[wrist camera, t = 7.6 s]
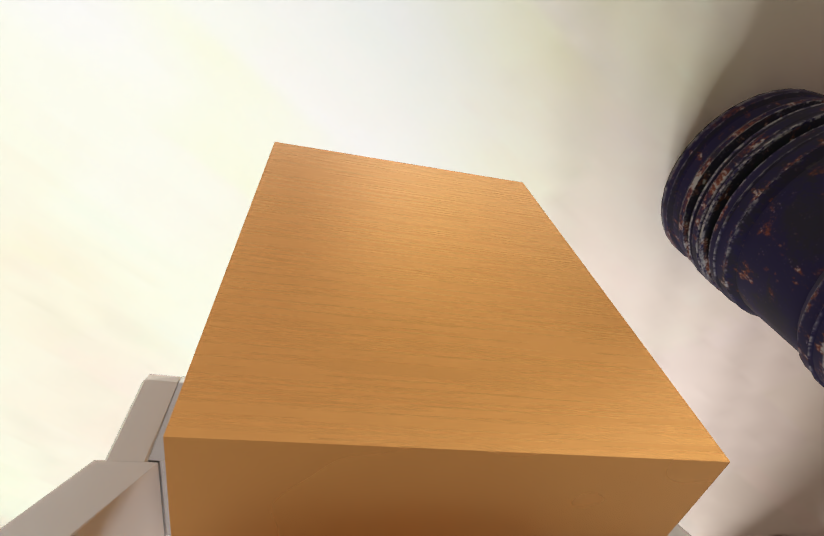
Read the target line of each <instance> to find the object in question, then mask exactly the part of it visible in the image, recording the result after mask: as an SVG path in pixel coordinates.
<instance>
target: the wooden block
mask: <svg viewBox="0 0 824 536" xmlns="http://www.w3.org/2000/svg"><path fill="white" fill-rule="evenodd" d="M163 441H164V454H165V466H166V479H167V491H168V504H169V516H170V529H171V536H667V535H668V534H669V533H670V532H671V531H672V530H673V528H674V527H675V526H676V525H677V524H678V523H679V521H680V520H681V519H682V518H683V517H684V516H685V514H686V513H687V512H688V511H689V510H690V509H691V507H692V506H693V505H694V504H695V503H696V502H697V500H698V499H699V498H700V497H701V496H702V495H703V493H704V492H705V491H706V490H707V489H708V488H709V486H710V485H711V484H712V483H713V482H714V481H715V479H716V478H717V477H718V476H719V475H720V473H721V472H722V471H723V470H724V469H725V468H726V466H727V465H728V464H729V463H730V461H729V460H728V458H727V457H726V456H725V454H724V453H723V452H722V450H721V449H720V447H719V446H718V445H717V443H716V442H715V441H714V439H713V438H712V437H711V435H710V434H709V433H708V431H707V430H706V429H705V427H704V426H703V425H702V423H701V422H700V421H699V419H698V418H697V417H696V415H695V414H694V412H693V411H692V410H691V408H690V407H689V406H688V404H687V403H686V402H685V400H684V399H683V398H682V396H681V395H680V394H679V392H678V391H677V390H676V388H675V387H674V386H673V384H672V383H671V382H670V380H669V379H668V377H667V376H666V375H665V373H664V372H663V371H662V369H661V368H660V367H659V365H658V364H657V363H656V361H655V360H654V359H653V357H652V356H651V355H650V353H649V352H648V351H647V349H646V348H645V347H644V345H643V344H642V343H641V341H640V340H639V338H638V337H637V336H636V334H635V333H634V332H633V330H632V329H631V328H630V326H629V325H628V324H627V322H626V321H625V320H624V318H623V317H622V316H621V314H620V313H619V312H618V310H617V309H616V308H615V306H614V305H613V303H612V302H611V301H610V299H609V298H608V297H607V295H606V294H605V293H604V291H603V290H602V289H601V287H600V286H599V285H598V283H597V282H596V281H595V279H594V278H593V277H592V275H591V274H590V273H589V271H588V270H587V269H586V267H585V266H584V264H583V263H582V262H581V260H580V259H579V258H578V256H577V255H576V254H575V252H574V251H573V250H572V248H571V247H570V246H569V244H568V243H567V242H566V240H565V239H564V238H563V236H562V235H561V234H560V232H559V231H558V229H557V228H556V227H555V225H554V224H553V223H552V221H551V220H550V219H549V217H548V216H547V215H546V213H545V212H544V211H543V209H542V208H541V207H540V205H539V204H538V203H537V201H536V200H535V199H534V197H533V196H532V195H531V193H530V192H529V190H528V189H527V188H526V186H525V185H524V184H523V183H522V182H516V181H510V180H504V179H498V178H492V177H485V176H479V175H473V174H467V173H461V172H455V171H449V170H443V169H437V168H431V167H425V166H419V165H412V164H406V163H400V162H394V161H388V160H382V159H376V158H370V157H364V156H358V155H352V154H345V153H339V152H333V151H327V150H321V149H315V148H309V147H303V146H297V145H291V144H285V143H279V142H275V143H274V145H273V148H272V151H271V153H270V156H269V159H268V161H267V164H266V166H265V169H264V172H263V174H262V177H261V180H260V182H259V185H258V188H257V190H256V193H255V195H254V198H253V201H252V203H251V206H250V209H249V211H248V214H247V217H246V219H245V222H244V224H243V227H242V230H241V232H240V235H239V238H238V240H237V243H236V246H235V248H234V251H233V253H232V256H231V259H230V261H229V264H228V267H227V269H226V272H225V275H224V277H223V280H222V283H221V285H220V288H219V290H218V293H217V296H216V298H215V301H214V304H213V306H212V309H211V312H210V314H209V317H208V319H207V322H206V325H205V327H204V330H203V333H202V335H201V338H200V341H199V343H198V346H197V348H196V351H195V354H194V356H193V359H192V362H191V364H190V367H189V370H188V372H187V375H186V377H185V380H184V383H183V385H182V388H181V391H180V393H179V396H178V399H177V401H176V404H175V407H174V409H173V412H172V414H171V417H170V420H169V422H168V425H167V428H166V430H165V433H164V436H163Z"/></svg>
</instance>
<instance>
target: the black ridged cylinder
mask: <svg viewBox="0 0 824 536" xmlns="http://www.w3.org/2000/svg"><path fill="white" fill-rule="evenodd" d="M661 216H662V224H663V227H664V230H665V233H666V236H667V237H668V239H669V240H670V242H671V243H672V244H673V245H674V246H675V247H676V248H677V249H678V250H679V251H680V252H681V253H682V254H683V255H684V256H686V257H688V259H689V260H690V261H691V262H692V263H693V264H694V265H695V267H696V268H697V270H698V271H699V272H700V273H701V274H702V275H703V276H704V277H705V278H706V279H707V280H708V281H709V282H710V283H711V284H712V285H714V286H715V287H716V288H717V289H718V290H720V291H721V292H722V293H723V294H724V295H725V296H726V297H727V298H728V299H730V300H731V301H732V302H734V303H736V304H737V305H738V306H739V307H740V308H741V309H743V310H745V311H746V312H748V313H750V314H752V315H755V316H759V317H760V318H761V319H762V320H764V321H765V322H766V323H767V324H768V325H769V326H770V327H771V328H773V329H774V330H775V331H776V332H777V333H778V334H779V335H780V336H781V337H783V338H784V339H785V340H786V341H787V342H788V343H789V344H790V345H792V346H793V347H794V348H795V349H796V350H797V351H798V352H799V356H800V358H801V360H802V362H803V363H804V365H805V367H807V368H808V369H809V370H810V371H811V373H812V375H813V376H814V378H815V380H816V381H817V382H819V383H820V384H821V385H822V386H823V387H824V95H821V94H818V93H815V92H811V91H807V90H802V89H784V90H775V91H771V92H767V93H764V94H760V95H757V96H755V97H752V98H750V99H748V100H745V101H743V102H741V103H739V104H738V105H736V106H734V107H732V108H731V109H729V110H727V111H726V112H724V113H723V114H722V115H720V116H719V117H718V118H716V119H715V120H713V121H712V122H711V123H710V124H709V125H708V126H707V127H706V128H704V129H703V130H702V131H701V132H700V133H699V134H698V135H697V136H696V137H695V138H694V140H693V141H692V142H691V143H690V144H689V145H688V146H687V148H686V149H685V151H684V152H683V153H682V155H681V156H680V158H679V159H678V161H677V162H676V164H675V166H674V168H673V170H672V172H671V174H670V176H669V179H668V181H667V184H666V186H665V190H664V194H663V199H662V208H661Z"/></svg>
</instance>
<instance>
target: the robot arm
mask: <svg viewBox="0 0 824 536" xmlns="http://www.w3.org/2000/svg"><path fill="white" fill-rule="evenodd" d="M184 380H185V377H184V376H183V377H178V376H167V375H156V374H149V375H148V376H147V378H146V379H145V380H144V381H143V382H142V384H141V386H140V388H139V390H138V393H137V395H136V397H135V399H134V401H133V403H132V405H131V407H130V409H129V411H128V413H127V416H126V418H125V420H124V422H123V424H122V426H121V428H120V430H119V432H118V434H117V437H116V439H115V441H114V443H113V445H112V447H111V449H110V451H109V453H108V455H107V457H106V460H94V461H92V462H91V463H90V464H88V465H87V466H85V467H84V468H83V469H81V470H80V471H79V472H77V473H76V474H75V475H73V476H72V477H70V478H69V479H68V480H66V481H65V482H64V483H62V484H61V485H60V486H58V487H57V488H55V489H54V490H53V491H51V492H50V493H49V494H47V495H46V496H44V497H43V498H42V499H40V500H39V501H38V502H36V503H35V504H34V505H32V506H31V507H29V508H28V509H27V510H25V511H24V512H23V513H21V514H20V515H19V516H17V517H16V518H14V519H13V520H12V521H10V522H9V523H8V524H6V525H5V526H4V527H2V528H1V529H0V536H171V529H170V516H169V504H168V491H167V479H166V466H165V454H164V441H163V436H164V433H165V430H166V428H167V425H168V422H169V420H170V417H171V414H172V412H173V409H174V407H175V404H176V401H177V399H178V396H179V393H180V391H181V388H182V385H183V383H184ZM667 536H691V535H690V534H689V533H688V532H686V531H685V530H684V529H683V528H682V527H681V526H679V525H678V524H677V525H676V526H675V527H674V528H673V530H672V531H671V532H670V533H669V534H668V535H667Z"/></svg>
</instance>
